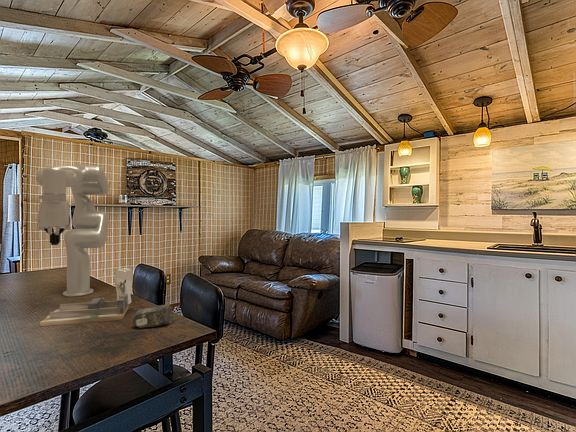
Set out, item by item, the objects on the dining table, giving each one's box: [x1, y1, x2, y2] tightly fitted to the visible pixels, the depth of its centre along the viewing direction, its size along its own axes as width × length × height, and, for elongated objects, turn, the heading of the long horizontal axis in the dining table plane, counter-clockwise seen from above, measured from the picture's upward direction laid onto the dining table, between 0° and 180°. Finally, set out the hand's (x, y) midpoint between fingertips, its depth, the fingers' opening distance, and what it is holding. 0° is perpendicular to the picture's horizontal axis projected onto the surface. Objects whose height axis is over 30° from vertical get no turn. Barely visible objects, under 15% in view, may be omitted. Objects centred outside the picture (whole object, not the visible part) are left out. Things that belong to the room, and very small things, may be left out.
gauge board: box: [39, 294, 130, 327], centre depth 127 cm, size 16×26×6 cm, turn 107°
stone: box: [131, 304, 175, 329], centre depth 118 cm, size 14×7×10 cm, turn 125°
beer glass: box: [114, 267, 134, 305], centre depth 144 cm, size 7×7×15 cm
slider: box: [87, 297, 106, 309], centre depth 126 cm, size 12×4×5 cm, turn 17°
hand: (54, 244), depth 131 cm, fingers closed
